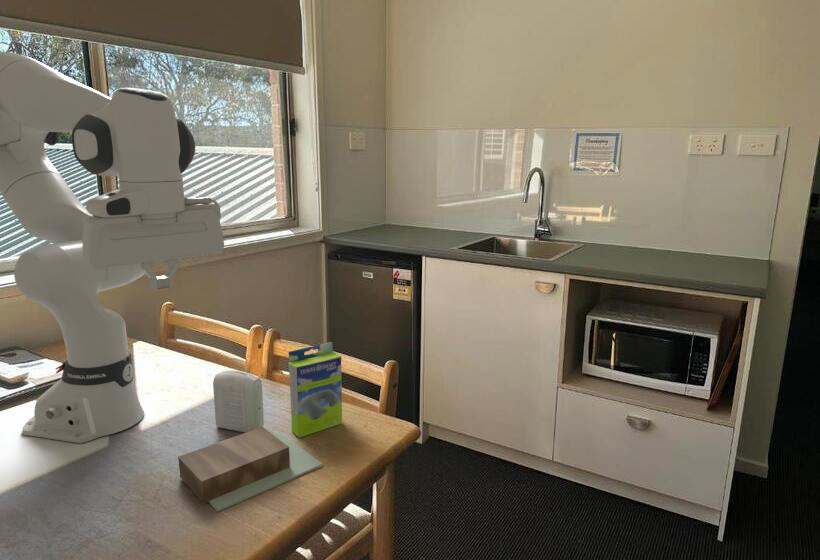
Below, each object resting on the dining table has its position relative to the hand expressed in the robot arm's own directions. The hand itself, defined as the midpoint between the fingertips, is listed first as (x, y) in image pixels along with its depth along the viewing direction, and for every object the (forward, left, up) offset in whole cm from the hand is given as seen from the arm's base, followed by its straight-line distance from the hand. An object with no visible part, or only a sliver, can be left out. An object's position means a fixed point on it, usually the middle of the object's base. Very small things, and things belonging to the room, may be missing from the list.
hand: (162, 288), depth 89 cm
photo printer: (+3, +21, -35) cm, 41 cm away
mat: (+10, +6, -35) cm, 37 cm away
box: (+19, +22, -35) cm, 46 cm away
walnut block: (+2, -1, -33) cm, 33 cm away
